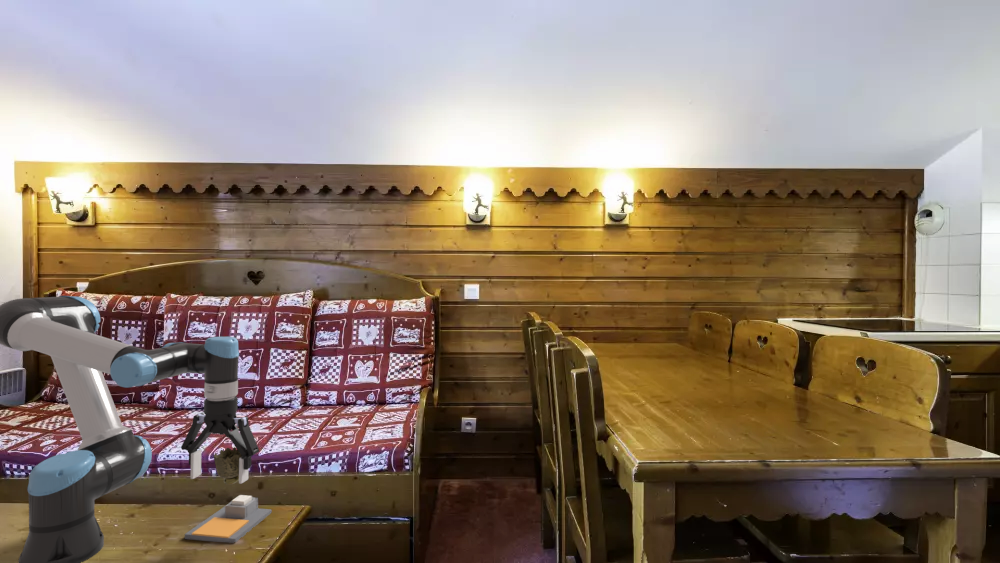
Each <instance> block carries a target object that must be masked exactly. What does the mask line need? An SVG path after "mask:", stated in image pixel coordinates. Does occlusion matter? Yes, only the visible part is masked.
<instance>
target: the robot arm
mask: <svg viewBox="0 0 1000 563" xmlns="http://www.w3.org/2000/svg"><path fill="white" fill-rule="evenodd" d="M100 314H101V313H100V312H99V310H98V308H97V307H96V305H95V304H94V303H93V302H92V301H90V300H89V299H87V298H84V297H81V296H74V295H73V296H71V295H59V296H50V297H49V296H48V297H47V296H45V297H31V298H29V297H21V298H15V299H11V300H8V301H5V302H4V303H2V304H0V345H2V346H4V347H6V348H10V349H13V350H16V351H19V352H20V351H21V352H27V351H28V352H29V351H35V352H39V353H40V354H44V355H48V356H50V358H51V360H52V363H53V366H54V368H55V371H56V373H57V376H58V379H59V382H60V384H61V387H62V390H63V393H64V395H65V397H66V400H67V403H68V406H69V408H70V410H71V413H72V416H73V418H74V421H75V424H76V427H77V429H78V431H79V435H80V436H81V437H80V438H81V443H80V445H79V446H78V448H77V450H73V451H72V450H70V451H67V452H65V453H59V454H57V455H53V456H51V457H48V458H47V459H44V460H42V461H41V462H39V463H38V464H36V465H35V466H34V467H33V469H32V470H31V471H30V473H29V476H28V477H29V478H28V485H27V492H28V535H27V537H26V540H25V543H24V546H23V549H22V552H21V553H20V555H19V557H18V563H81V562H82V563H84V562H86V561H88V560H90V559H91V558H92V557H94V556H95V555H97V554H98V553H99V552H100V551H101V550H102V549H104V546H105V537H104V533H103V532H102V530H101V527H100V523H99V522H98V520H97V518H96V517H95V500H96V499H99V498H101V497H103V496H105V495H107V494H109V493H111V492H113V491H116V490H117V489H120V488H121V487H123V486H127V485H128V484H131V483H132V482H134V481H135V480H137V479H139V478H140V477H142V476H143V475H144V474H145V473H146V472H147V470H148V469H149V466H150V465H151V463H152V458H153V457H152V455H153V454H152V453H153V452H152V447H151V445H150V443H149V441H148V440H147V439H146V438H144V437H143V436H141V435H137V434H135V435H134V432H133V429H132V428H130V427H128V426H125V425H123V423H122V420H121V418H120V415H119V412H118V410H117V408H116V405H115V403H114V400H113V397H112V395H111V392H110V390H109V387H108V384H107V381H106V379H105V377H104V374H103V373H105V374H107V375H110V377H111V379H112V380H113V382H115V383H116V385H118V386H119V387H121V388H128V389H129V388H133V387H141V386H145V385H147V384H150V383H154V382H158V381H161V380H165V379H168V378H172V377H173V378H174V377H175V376H180V375H183V374H200V375H202V374H203V375H204V388H203V389H204V390H203V391H204V393H203V394H204V396H203V397H204V398H205V399H204V401H203V412H201V413H198V414H195V415H193V417H192V424H191V426H190V427H189V430H188V432H187V434H186V436H185V437H184V440H183V441H182V445H181V447H180V448H181V450H182V451H184V450H185V451H187V453H188V465H190V479H191V480H193V479H196V478H197V477H200V476H201V475H202V450H201V449H200V448H201V446H202V445H203V444H204V442H206V440H207V439H208V438H209V436H210V435H211V434H213V435H216V434H217V435H220V436H222V435H225V437H227V438H229V440H230V441H231V443H232V444H233V445H234V447H235V448H236V450H237V449H238V451H239V452H240V454H241V455H242V457H240V458H239V481H238V484H240V485H241V484H243V483H245V482H246V481H248V480H249V469H250V468H251V467H252V457H253V456H255V455H256V454H258V453H259V452H260V448H259V446H258V444H257V441H256V439H255V437H254V434H253V431H252V429H251V427H250V424H249V423H250V422H249V417H248V416H243V417H237V411H238V407H239V406H238V403H239V402H238V401H239V400H238V397H237V395H238V394H239V376H238V375H239V373H238V372H239V357H240V352H239V341H238V339H237V338H236V337H235V336H213V337H208V338H206V340H205V341H204V344H203V343H202V344H201V343H200V344H199V343H191V342H190V343H187V342H181V341H179V342H168V343H166V344H164V345H163V346H162V347H160V348H155V349H143V348H141V347H137V346H135V345H131V344H129V343H128V344H127V343H125V342H121V341H117V340H115V339H111V338H108V337H105V336H102V335H98V334H96V332H97V331H98V330H99V328H100V324H99V323H101V315H100ZM203 424H205V425H206V426H205V427H204V429H203V430H202V431H201V433H200V434H199V432H200V430H201V428H202V426H203ZM198 434H199V436H198Z"/></svg>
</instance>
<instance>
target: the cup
mask: <svg viewBox="0 0 1000 563" xmlns="http://www.w3.org/2000/svg"><path fill="white" fill-rule="evenodd" d="M240 457H242V455H241V454H240V452H239V451H238V449H237V448H236V447H235V446H234V447H233V448H232V449H231V448H229V447H227V448H225V449H224V450H223V449H220V450H219V453H218V454H217V453H216V452H215V453H214V454H213V459H214V460H213V461H214V465H215V469H216V472H217V475H218V477H220V478H222V479H223V483H224V484H225V485H233V484H235V483H239V458H240Z"/></svg>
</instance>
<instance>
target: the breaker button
mask: <svg viewBox="0 0 1000 563" xmlns="http://www.w3.org/2000/svg"><path fill="white" fill-rule="evenodd" d="M252 497H253V495H245V494H239V495H238V496H236V497H235V498H234V499H232V500H231V502H232V505H241V506H245V505H246V504H247V503H249V502H250V501H251V500H252Z"/></svg>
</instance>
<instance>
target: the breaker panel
mask: <svg viewBox="0 0 1000 563" xmlns="http://www.w3.org/2000/svg"><path fill="white" fill-rule="evenodd" d="M271 513H272V509H270V508H269V509H268V508H259V497H254V496H252V500H251V501H250V502H249V503H247V504H246V505H245V506H241V505H232V501H230V502H229V503H228V504H225V505H224V506H222V508H221V509H218V511H215V513H213V514H211V515H210V516H209V517H207V518H206V519H204V520H203V521H201V522H200V523H198V524H197V525H196V526H194V527H193V528H191V529H190V530H189V531H187V532H186V533H185V534H184V539H185V540H193V541H203V542H218V543H231V544H232V543H234V542H236V543H237V542H238V541H239V539H240V538H241V537H242V538H244V536H245V535H247V534H248V533H249V532H251V531H252V530H253V529H254V528H255V527H256V526H257V525H259V524H260V523H261V522H262V521H264V520H265V519H266V518H267V517H268V516H270V515H271ZM253 527H254V528H253ZM252 528H253V529H252ZM247 532H248V533H247ZM246 533H247V534H246ZM242 538H241V539H242ZM241 539H240V540H241ZM234 544H235V543H234Z"/></svg>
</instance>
